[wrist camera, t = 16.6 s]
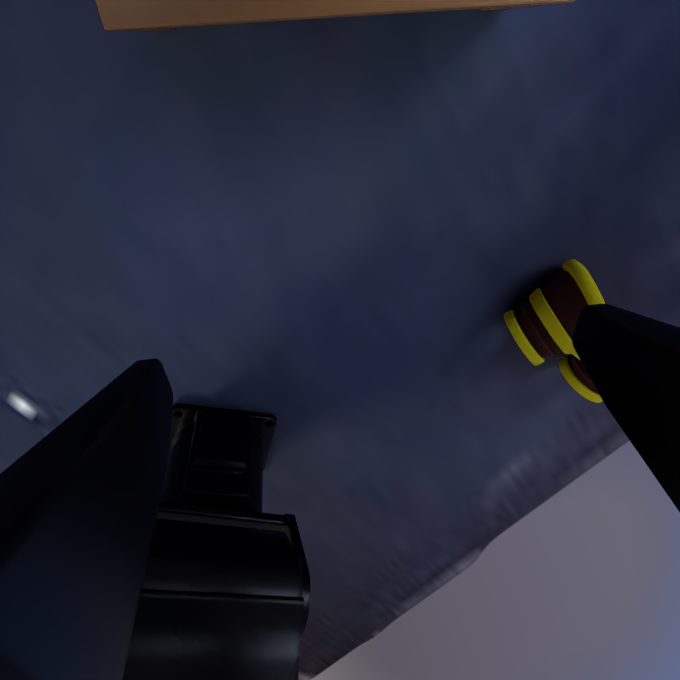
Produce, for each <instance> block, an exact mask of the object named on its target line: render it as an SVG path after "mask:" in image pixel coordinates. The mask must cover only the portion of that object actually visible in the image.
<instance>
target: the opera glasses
mask: <svg viewBox="0 0 680 680" xmlns="http://www.w3.org/2000/svg"><path fill="white" fill-rule="evenodd" d="M562 270H563V272H562V273H561V274H560V275H559V276H557V277H556V278H555V279H554V280H553V281H552V282H550V283H549V284H548V285H547V286H546V287H544V288H543V289H541V288H537V289H536V290H535V291H534V292H533V293H532V294H531V295H530V296H529V301H528V302H527V303H521V304H520V308H519V309H518V310H517V311H516V312H515V311H513V310H510V311H508V312H506V313H505V314H504V320H505V322H506V325H507V327H508V329H509V331H510V333H511V334H512V336H513V338H514V339H515V341H516V343H517V344H518V346H519V347H520V349H521V350H522V351H523V353H524V354H525V355H526V357H527V358H528V359H529V360H530V361H531V362H532V363H533V364H534V365H536V366H537V365H539V364H541V363H543V362H544V360H545V359H544V357H547V356H552V357H556V356H557V354H558V353H561V352H564V353H565V354H569V355H566V356H564V357H563V358H561V359H560V361H559V367H560V370H561V372H562V374H563V376H564V377H565V379H566V380H567V382H568V383H569V384H570V385H571V386H572V387H573V388H574V389H575V390H576V391H577V392H578V393H579V394H581V395H582V396H583V397H585V398H586V399H588V400H590V401H592V402H597V403H599V402H602V401H603V400H602V398H601V397H600V395H599V393H598V391H597V389H596V388H595V386H594V384H593V382H592V380H591V379H590V377H589V375H588V373H587V371H586V369H585V368H584V366H583V364H582V362H581V360H580V358H579V357H578V355H577V353H576V351H575V349H574V347H573V344H572V335H573V332H574V329H575V326H576V323H577V320H578V317H579V314H580V311H581V310H582V308H583V307H585V306H587V305H593V304H601V303H602V304H605V302H604V300H603V297H602V295H601V293H600V291H599V289H598V287H597V285H596V284H595V282H594V280H593V278H592V277H591V275H590V274H589V272H588V271H587V269H586V268H585V267H584V266H583V265H582V264H581V263H580V262H578V261H577V260H575V259H569V260H567V261H565V262H564V263H563V265H562ZM570 353H571V355H570Z"/></svg>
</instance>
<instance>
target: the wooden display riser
mask: <svg viewBox="0 0 680 680" xmlns="http://www.w3.org/2000/svg"><path fill="white" fill-rule="evenodd" d="M574 1H575V0H96V3H97V7H98V10H99V13H100V17H101V20H102V23H103V26H104V28H105V30H110V31H134V32H151V31H167V30H175V29H176V27H189V26H205V25H221V24H238V23H254V22H270V21H287V20H303V19H319V18H336V17H352V16H368V15H385V14H401V13H417V12H434V11H450V10H466V9H480V11H491V10H507V9H516V8H525V7H533V6H542V5H551V4H560V3H568V2H574Z"/></svg>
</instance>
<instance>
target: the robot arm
mask: <svg viewBox="0 0 680 680" xmlns="http://www.w3.org/2000/svg"><path fill="white" fill-rule="evenodd" d="M572 344H573V347H574V349H575V351H576V353H577V355H578V357H579V358H580V360H581V362H582V364H583V366H584V368H585V369H586V371H587V373H588V375H589V377H590V379H591V380H592V382H593V384H594V386H595V388H596V389H597V391H598V393H599V395H600V397H601V398H602V400H603V402H604V403H605V405H606V406H607V408H608V409H609V411H610V412H611V414H612V415H613V417H614V418H615V420H616V421H617V423H618V424H619V425H620V427H621V428H622V430H623V431H624V433H625V434H626V436H627V437H628V438H629V440H630V441H631V443H632V444H633V446H634V447H635V448H636V450H637V451H638V453H639V454H640V455H641V457H642V458H643V460H644V461H645V463H646V464H647V466H648V467H649V469H650V470H651V471H652V473H653V474H654V475H655V477H656V479H657V480H658V482H659V483H660V484H661V486H662V487H663V489H664V490H665V492H666V493H667V494H668V496H669V497H670V499H671V500H672V502H673V503H674V505H675V506H676V507H677V509H678V510H679V512H680V327H676V326H673V325H670V324H667V323H664V322H661V321H658V320H655V319H652V318H648V317H645V316H642V315H639V314H636V313H633V312H630V311H627V310H624V309H621V308H617V307H614V306H611V305H608V304H602V303H601V304H593V305H587V306H585V307H583V308H582V310H581V311H580V314H579V317H578V320H577V323H576V326H575V329H574V332H573V335H572ZM176 411H180V412H181V413H179V412H176ZM267 421H271V422H267ZM276 425H277V418H276V416H274V415H272V414H266V413H257V412H248V411H239V410H231V409H222V408H213V407H205V406H196V405H187V404H175V405H173V393H172V389H171V386H170V383H169V381H168V378H167V375H166V373H165V370H164V368H163V365H162V363H161V362H160V360H158V359H147V360H139V361H136V362H135V363H134V364H132V365H131V366H130V367H129V368H128V369H126V370H125V371H124V372H123V373H122V374H120V375H119V376H118V377H117V378H116V379H114V380H113V381H112V382H111V383H110V384H108V385H107V386H106V387H105V388H103V389H102V390H101V391H100V392H99V393H97V394H96V395H95V396H94V397H93V398H91V399H90V400H89V401H88V402H87V403H85V404H84V405H83V406H82V407H81V408H79V409H78V410H77V411H76V412H75V413H73V414H72V415H71V416H70V417H69V418H67V419H66V420H65V421H64V422H62V423H61V424H60V425H59V426H58V427H56V428H55V429H54V430H53V431H52V432H50V433H49V434H48V435H47V436H46V437H44V438H43V439H42V440H41V441H40V442H38V443H37V444H36V445H35V446H33V447H32V448H31V449H30V450H29V451H27V452H26V453H25V454H24V455H23V456H21V457H20V458H19V459H18V460H17V461H15V462H14V463H13V464H12V465H11V466H9V467H8V468H7V469H6V470H4V471H3V472H2V473H1V474H0V680H298V652H299V640H300V638H301V637H302V635H303V632H304V629H305V626H306V622H307V618H308V612H309V604H310V576H309V570H308V566H307V562H306V558H305V554H304V550H303V546H302V542H301V538H300V534H299V530H298V526H297V522H296V518H295V515H292V514H285V515H278V514H270V513H262V478H263V468H264V465H265V461H266V458H267V455H268V451H269V448H270V445H271V442H272V438H273V435H274V432H275V428H276ZM165 475H166V477H165ZM164 480H165V481H164Z"/></svg>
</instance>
